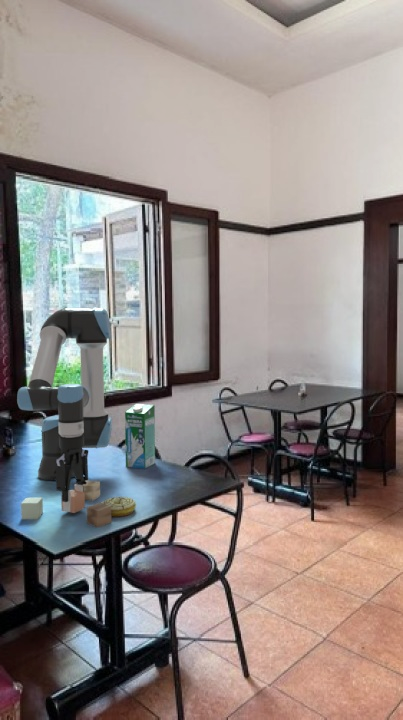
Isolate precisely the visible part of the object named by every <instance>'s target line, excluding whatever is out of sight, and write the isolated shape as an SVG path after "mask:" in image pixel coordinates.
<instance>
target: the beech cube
mask: <svg viewBox="0 0 403 720" xmlns="http://www.w3.org/2000/svg"><path fill="white" fill-rule="evenodd" d="M85 482H87V483H86V485H84V484H83V486H84V493H85V501H95V500H96V499H98V498H99V497H101V481H98V480H97V481H95V480H87V481H85Z"/></svg>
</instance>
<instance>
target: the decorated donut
mask: <svg viewBox="0 0 403 720" xmlns="http://www.w3.org/2000/svg"><path fill="white" fill-rule="evenodd" d="M101 503H103V504H106V505H109V506H111V517H115V518H116V517H125V516H128V515H131V514H132V513H133V511H134V510H135V509H136V507H137V505H136V501H135V499H134V498H132V497H129V496H127V497H126V496H114V497H111V498H107V499H105V500H103V501H101Z"/></svg>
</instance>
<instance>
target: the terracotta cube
mask: <svg viewBox="0 0 403 720" xmlns="http://www.w3.org/2000/svg"><path fill="white" fill-rule="evenodd" d="M70 491H71V505H72V511H71V512H70V513H73V514H75V513H77V512H79V511H82V510H83V509H85V507H86V504H85V503H86V502H85V501H86V500H85V493H84V492H81V491H75V489H70ZM60 497H61V498H60V499H61V500H60V503H61V504H60V505H61V511H62V512H64V511H63V502H62V494H61V495H60ZM65 512H67V511H65ZM67 513H68V512H67Z"/></svg>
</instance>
